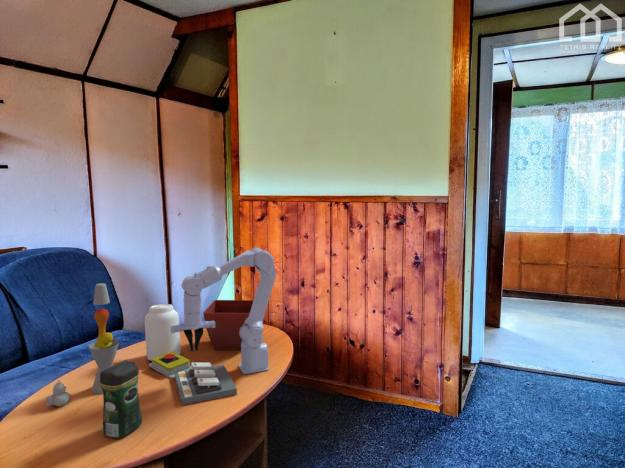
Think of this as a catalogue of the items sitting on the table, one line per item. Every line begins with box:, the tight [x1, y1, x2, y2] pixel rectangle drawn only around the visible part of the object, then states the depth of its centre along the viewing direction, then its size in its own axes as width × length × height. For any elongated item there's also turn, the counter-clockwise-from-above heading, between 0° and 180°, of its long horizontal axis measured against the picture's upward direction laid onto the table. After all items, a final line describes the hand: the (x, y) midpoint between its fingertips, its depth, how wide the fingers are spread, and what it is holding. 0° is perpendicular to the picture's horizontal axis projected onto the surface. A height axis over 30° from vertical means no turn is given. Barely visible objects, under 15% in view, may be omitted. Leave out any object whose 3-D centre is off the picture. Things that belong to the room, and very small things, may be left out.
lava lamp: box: [88, 283, 120, 395], centre depth 140 cm, size 9×9×35 cm
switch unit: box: [174, 364, 238, 406], centre depth 142 cm, size 17×20×4 cm
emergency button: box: [149, 352, 192, 380], centre depth 155 cm, size 9×4×15 cm
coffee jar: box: [100, 359, 143, 439], centre depth 116 cm, size 10×8×19 cm
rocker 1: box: [190, 362, 213, 369], centre depth 148 cm, size 6×4×1 cm, turn 114°
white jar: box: [144, 303, 182, 362], centre depth 166 cm, size 12×12×20 cm
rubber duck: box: [45, 380, 71, 407], centre depth 129 cm, size 5×7×8 cm
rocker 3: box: [197, 378, 219, 386], centre depth 136 cm, size 6×4×1 cm, turn 114°
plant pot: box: [202, 299, 254, 351], centre depth 178 cm, size 19×19×17 cm
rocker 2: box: [194, 370, 215, 377], centre depth 142 cm, size 6×4×1 cm, turn 114°
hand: (194, 350), depth 146 cm, fingers closed
